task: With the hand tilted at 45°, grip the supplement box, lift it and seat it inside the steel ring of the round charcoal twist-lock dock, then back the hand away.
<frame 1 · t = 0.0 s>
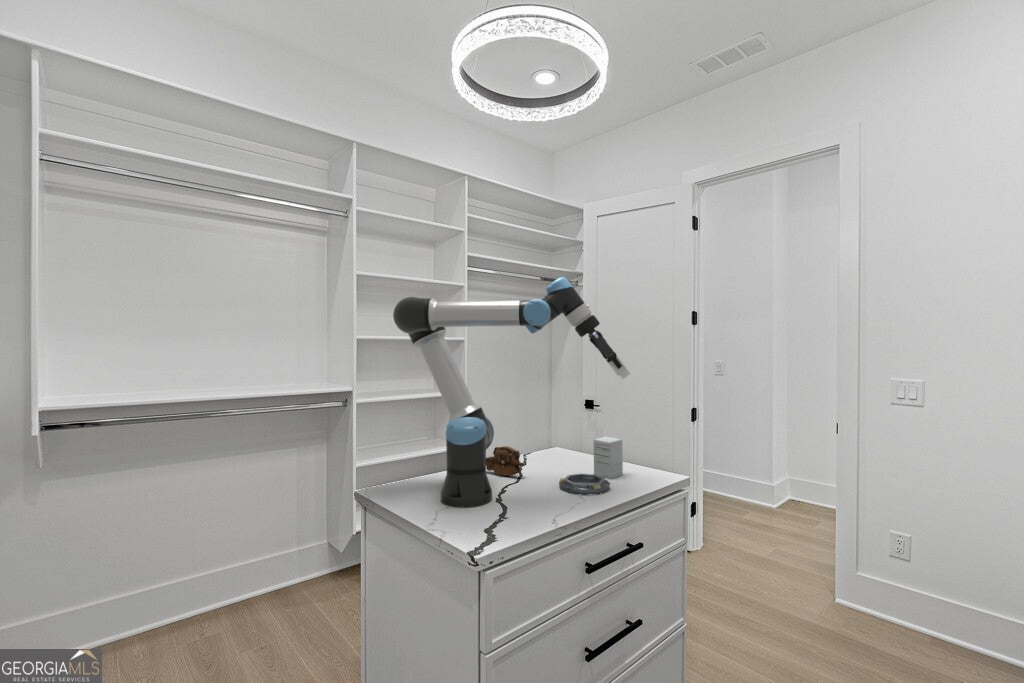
hand: (623, 375, 157), 36 cm above the countertop, tool tilted 35°, fingers open, 13 cm apart
wooden carving: (504, 476, 175), on the countertop
twist-lock dock: (584, 487, 159), on the countertop
supplement box: (608, 476, 173), on the countertop
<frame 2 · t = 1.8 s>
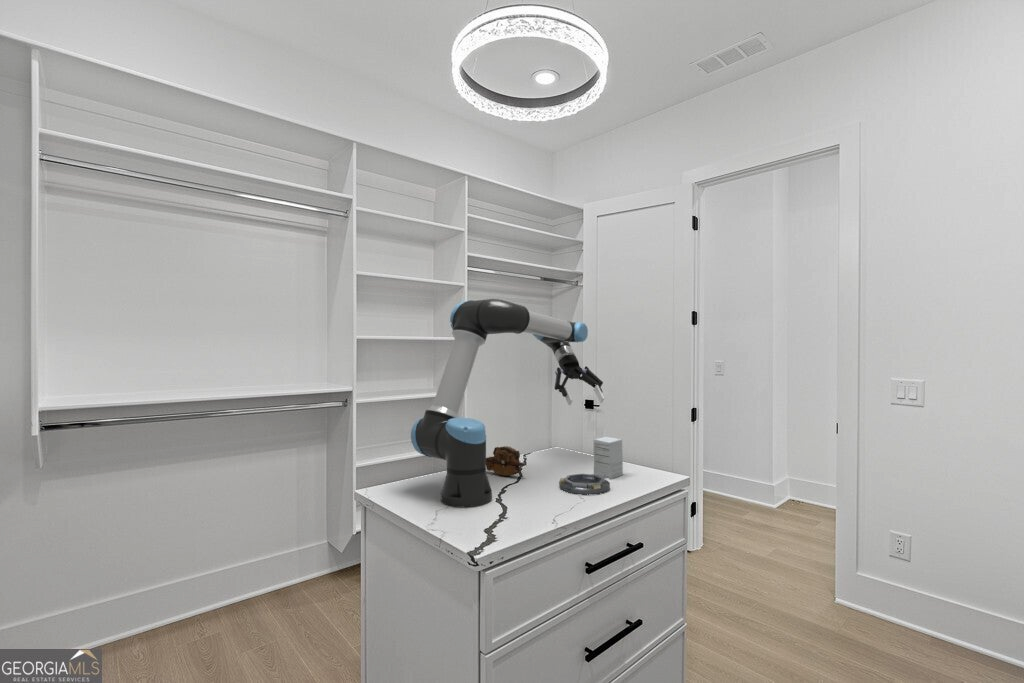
hand: (586, 401, 186), 24 cm above the countertop, tool tilted 45°, fingers open, 13 cm apart
nothing on the countertop moved.
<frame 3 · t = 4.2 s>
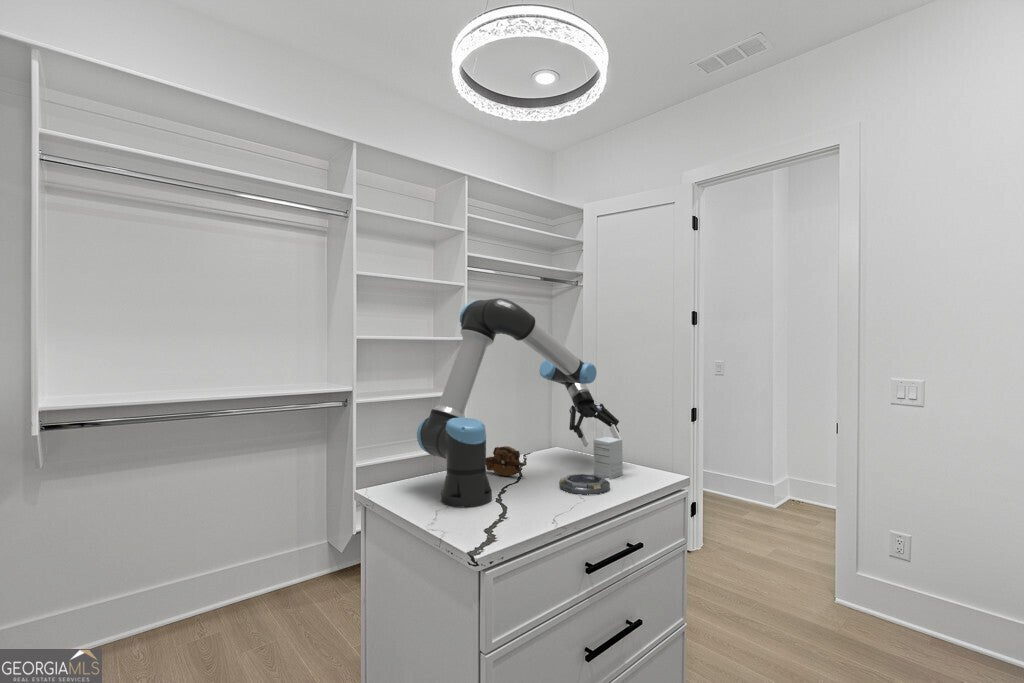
hand: (603, 443, 178), 10 cm above the countertop, tool tilted 45°, fingers open, 13 cm apart
nothing on the countertop moved.
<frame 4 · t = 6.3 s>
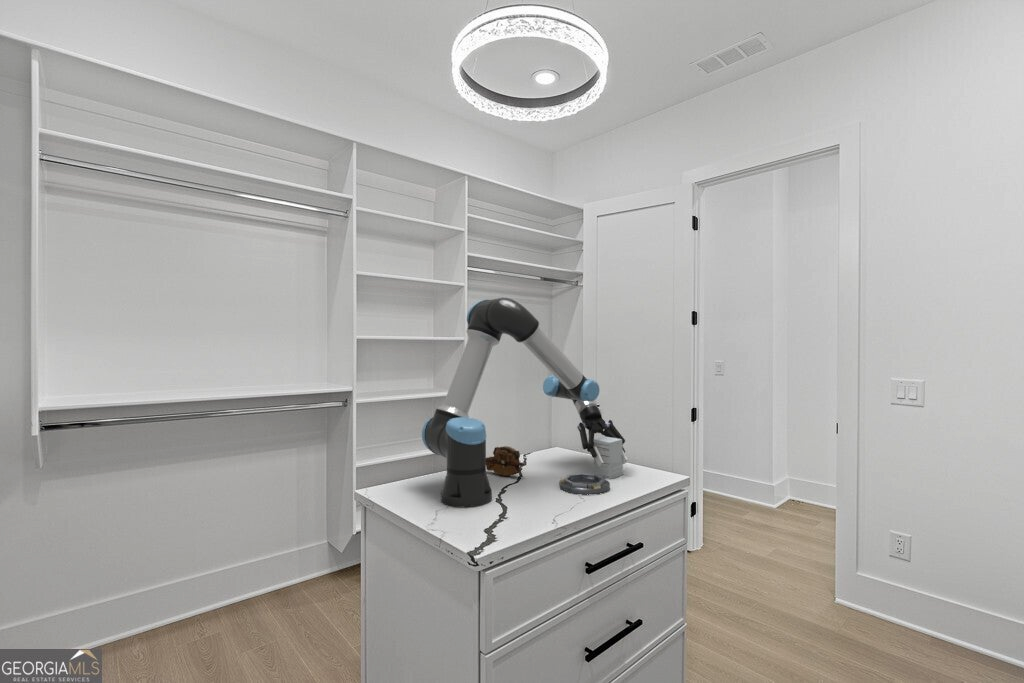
hand: (613, 463, 171), 5 cm above the countertop, tool tilted 45°, fingers closed on supplement box, 9 cm apart
supplement box: (608, 475, 174), on the countertop, touching gripper
everything else where it was.
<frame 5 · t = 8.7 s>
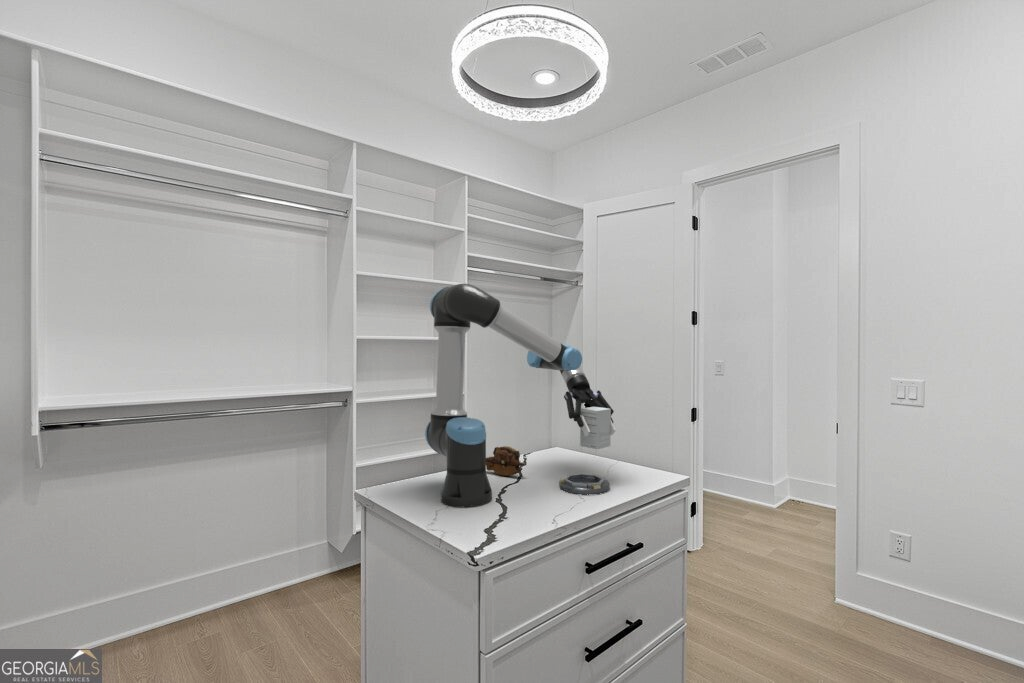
hand: (600, 433, 162), 17 cm above the countertop, tool tilted 45°, fingers closed on supplement box, 9 cm apart
supplement box: (595, 447, 165), point 12 cm above the countertop, touching gripper
everything else where it was.
when the fingers open (8 cm above the countertop, at t = 11.4 s): supplement box drops 1 cm, resting on twist-lock dock.
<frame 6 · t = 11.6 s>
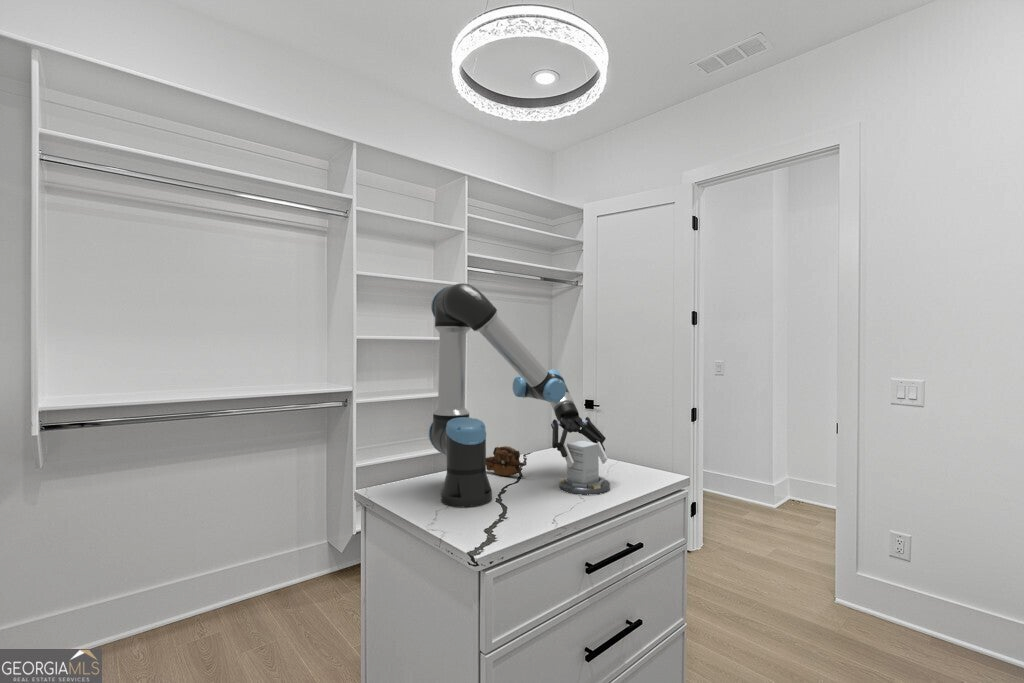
hand: (588, 463, 157), 8 cm above the countertop, tool tilted 45°, fingers open, 11 cm apart
supplement box: (582, 483, 159), point 1 cm above the countertop, touching twist-lock dock
everything else where it was.
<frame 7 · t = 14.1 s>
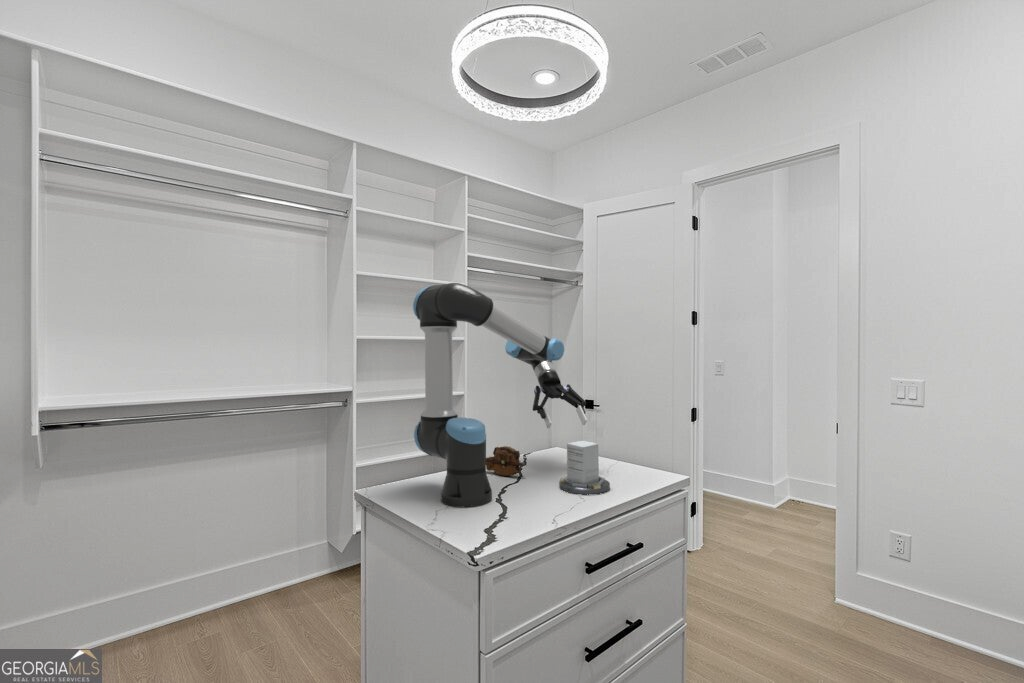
hand: (567, 424, 169), 19 cm above the countertop, tool tilted 45°, fingers open, 13 cm apart
nothing on the countertop moved.
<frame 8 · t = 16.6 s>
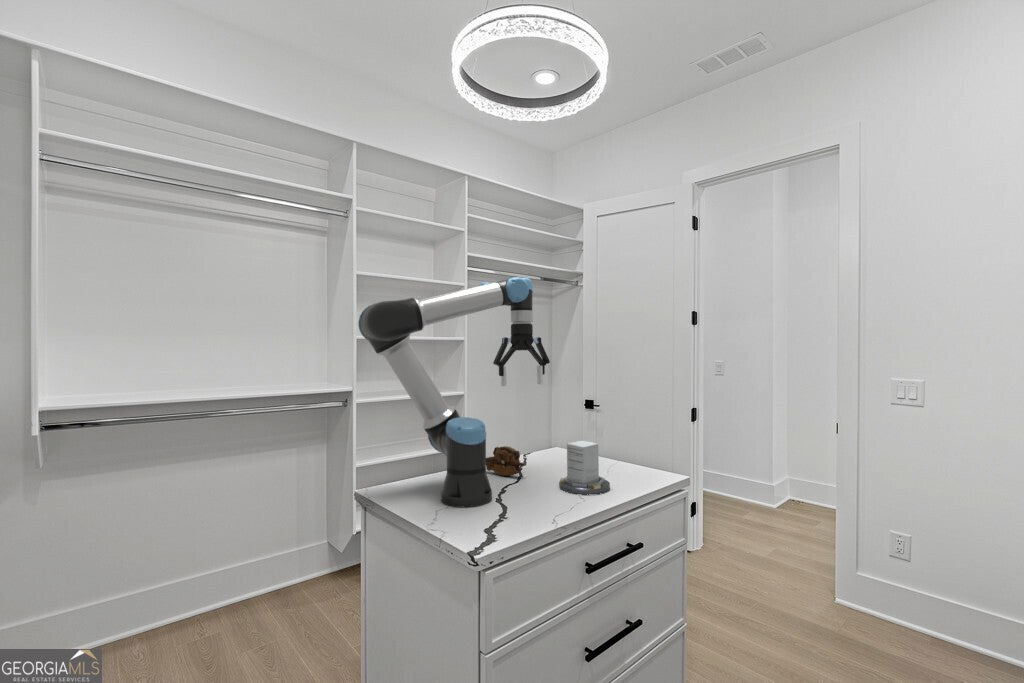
hand: (522, 385, 172), 32 cm above the countertop, tool pointing down, fingers open, 13 cm apart
nothing on the countertop moved.
at the end: supplement box 0.4 cm off-centre on the twist-lock dock, point 1.3 cm above the twist-lock dock's base; supplement box tilted 0°; the gripper is holding nothing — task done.
